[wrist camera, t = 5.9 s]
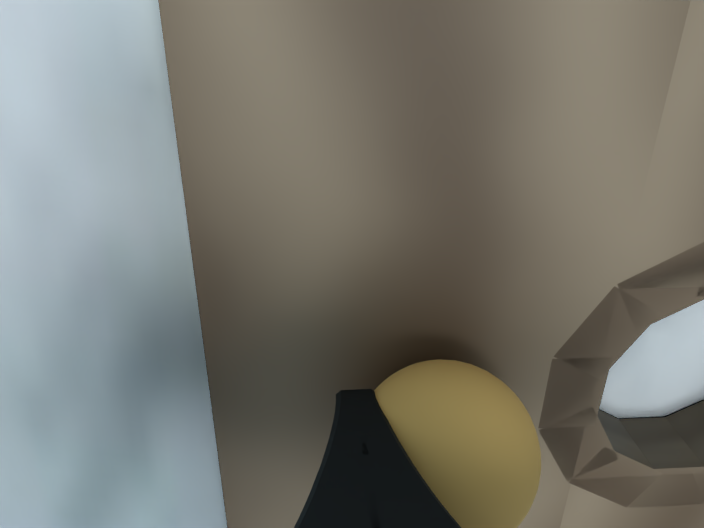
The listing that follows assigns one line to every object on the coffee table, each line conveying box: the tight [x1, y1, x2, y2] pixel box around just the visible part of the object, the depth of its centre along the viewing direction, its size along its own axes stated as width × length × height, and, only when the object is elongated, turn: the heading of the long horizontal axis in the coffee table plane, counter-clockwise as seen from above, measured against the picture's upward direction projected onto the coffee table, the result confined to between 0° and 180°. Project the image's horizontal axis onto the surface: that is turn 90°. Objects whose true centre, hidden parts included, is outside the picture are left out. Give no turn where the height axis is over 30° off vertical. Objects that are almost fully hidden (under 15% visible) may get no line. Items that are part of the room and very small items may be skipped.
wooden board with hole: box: [158, 0, 704, 528], centre depth 15 cm, size 18×18×2 cm
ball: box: [374, 359, 541, 528], centre depth 12 cm, size 4×4×4 cm
